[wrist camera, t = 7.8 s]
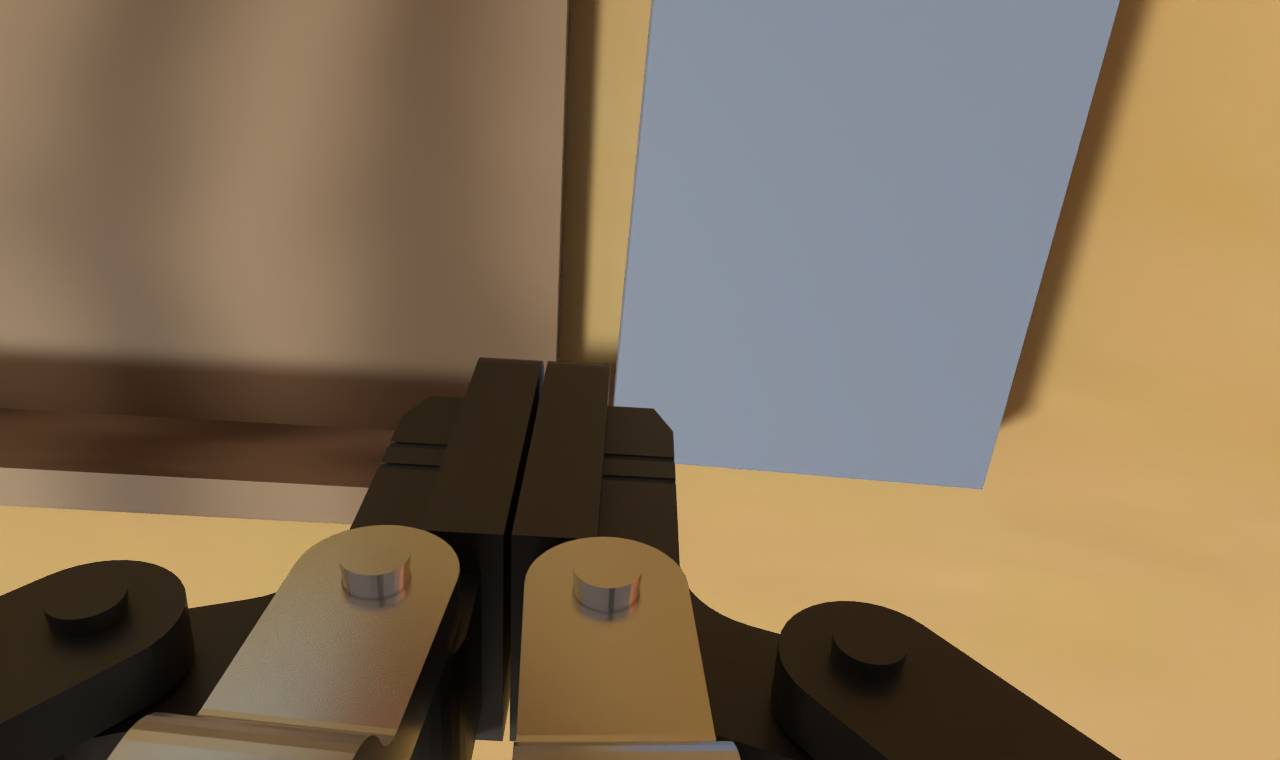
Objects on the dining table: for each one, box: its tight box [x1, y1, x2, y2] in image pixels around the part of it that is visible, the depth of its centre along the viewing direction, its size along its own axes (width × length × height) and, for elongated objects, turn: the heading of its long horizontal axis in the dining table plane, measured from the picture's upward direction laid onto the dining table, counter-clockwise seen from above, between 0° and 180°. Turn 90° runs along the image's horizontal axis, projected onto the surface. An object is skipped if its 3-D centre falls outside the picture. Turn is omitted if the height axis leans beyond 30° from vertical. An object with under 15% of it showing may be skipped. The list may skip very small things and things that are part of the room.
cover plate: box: [612, 0, 1120, 489], centre depth 23 cm, size 9×12×2 cm
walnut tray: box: [0, 0, 570, 524], centre depth 22 cm, size 18×15×4 cm
